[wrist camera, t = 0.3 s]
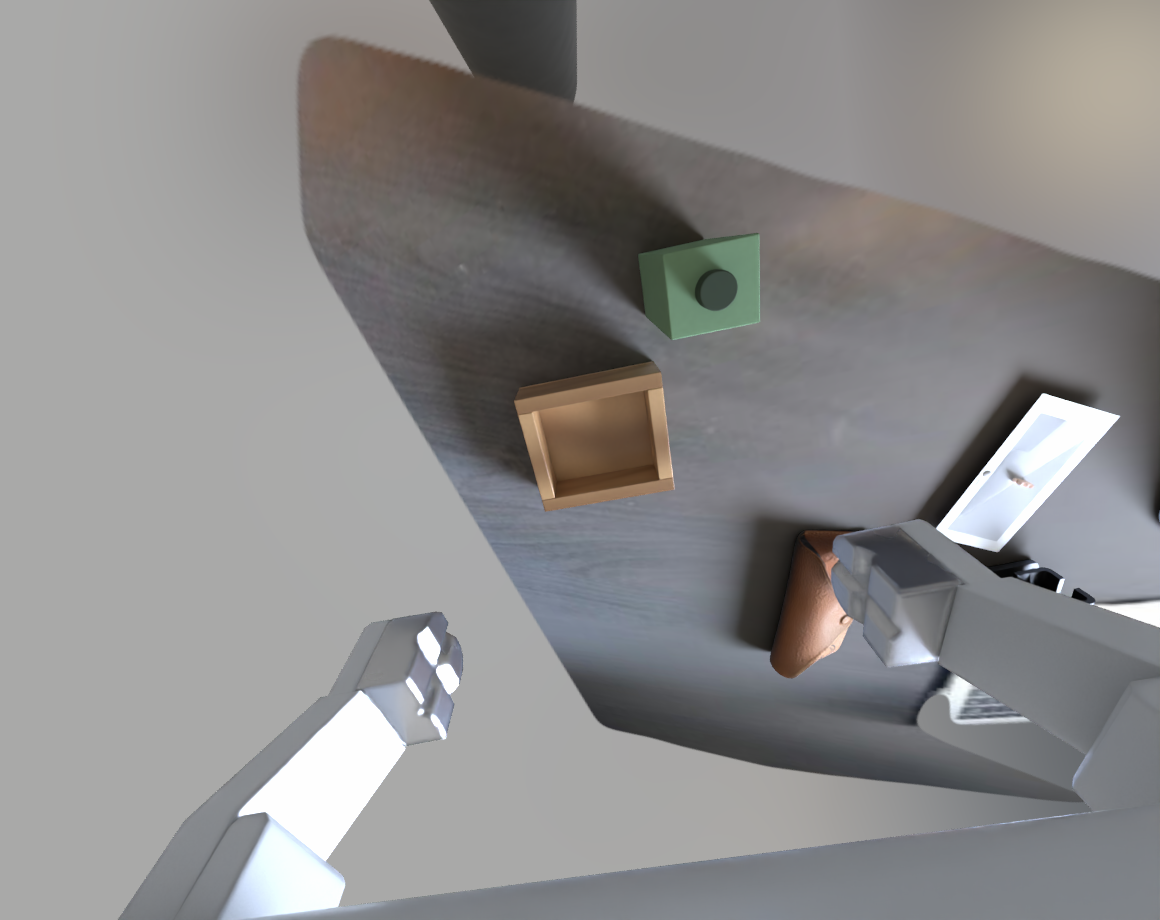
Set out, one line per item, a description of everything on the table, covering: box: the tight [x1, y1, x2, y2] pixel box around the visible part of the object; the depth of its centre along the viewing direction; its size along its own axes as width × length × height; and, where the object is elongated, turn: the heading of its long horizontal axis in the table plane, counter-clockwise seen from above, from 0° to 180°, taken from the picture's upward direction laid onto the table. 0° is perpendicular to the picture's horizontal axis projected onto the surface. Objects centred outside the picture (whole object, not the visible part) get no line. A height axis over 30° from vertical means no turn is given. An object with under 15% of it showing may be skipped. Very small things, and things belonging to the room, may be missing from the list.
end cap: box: [988, 560, 1095, 605], centre depth 42 cm, size 10×7×7 cm
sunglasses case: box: [770, 530, 858, 678], centre depth 44 cm, size 18×7×7 cm
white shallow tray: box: [936, 393, 1120, 552], centre depth 38 cm, size 8×15×2 cm, turn 165°
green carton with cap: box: [638, 233, 760, 340], centre depth 26 cm, size 4×5×11 cm
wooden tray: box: [514, 361, 674, 511], centre depth 35 cm, size 10×11×4 cm
